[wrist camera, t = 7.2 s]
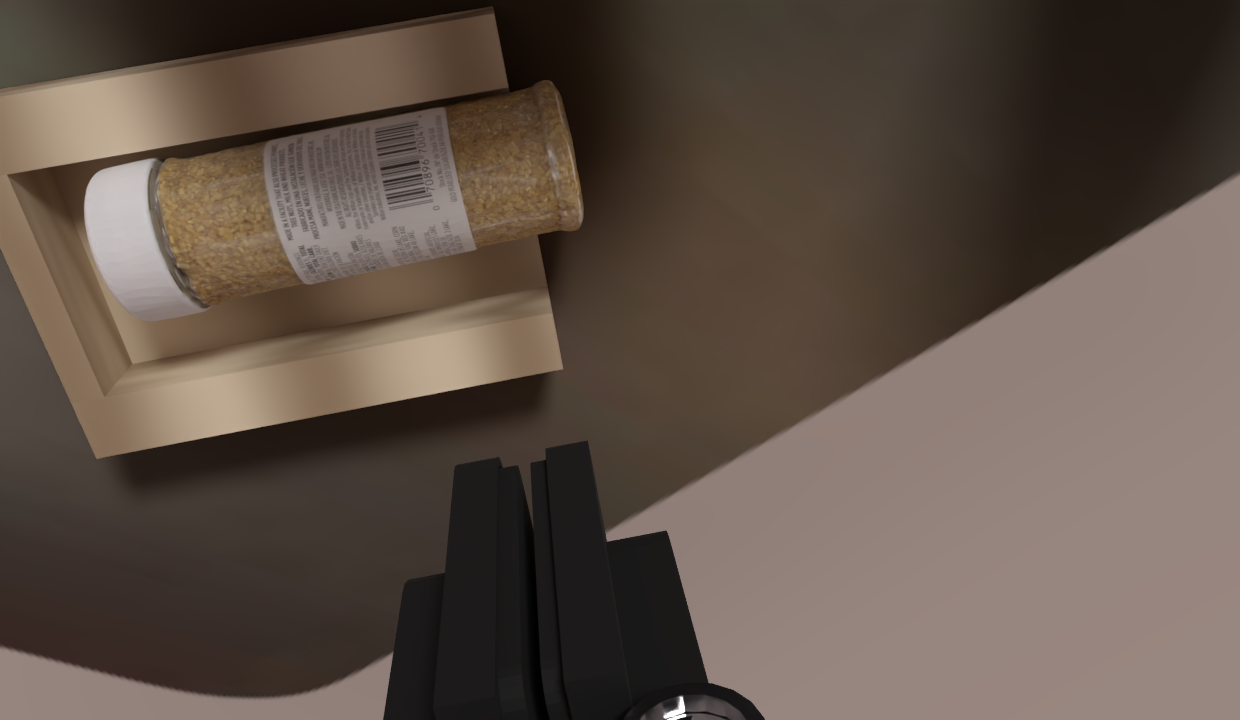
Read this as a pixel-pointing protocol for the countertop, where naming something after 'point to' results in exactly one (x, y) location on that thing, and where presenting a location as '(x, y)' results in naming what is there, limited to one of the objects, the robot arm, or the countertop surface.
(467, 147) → the sprinkles bottle
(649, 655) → the robot arm
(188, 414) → the bottle rest
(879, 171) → the countertop surface
